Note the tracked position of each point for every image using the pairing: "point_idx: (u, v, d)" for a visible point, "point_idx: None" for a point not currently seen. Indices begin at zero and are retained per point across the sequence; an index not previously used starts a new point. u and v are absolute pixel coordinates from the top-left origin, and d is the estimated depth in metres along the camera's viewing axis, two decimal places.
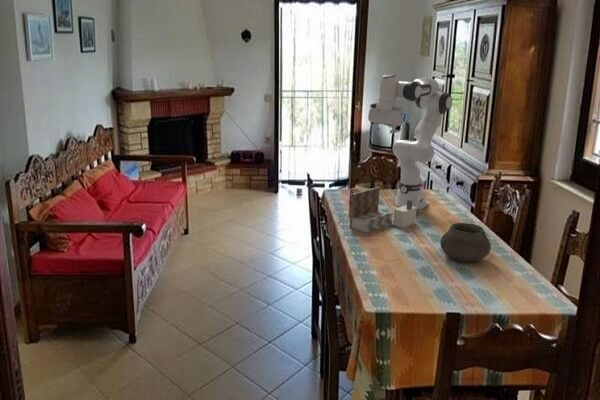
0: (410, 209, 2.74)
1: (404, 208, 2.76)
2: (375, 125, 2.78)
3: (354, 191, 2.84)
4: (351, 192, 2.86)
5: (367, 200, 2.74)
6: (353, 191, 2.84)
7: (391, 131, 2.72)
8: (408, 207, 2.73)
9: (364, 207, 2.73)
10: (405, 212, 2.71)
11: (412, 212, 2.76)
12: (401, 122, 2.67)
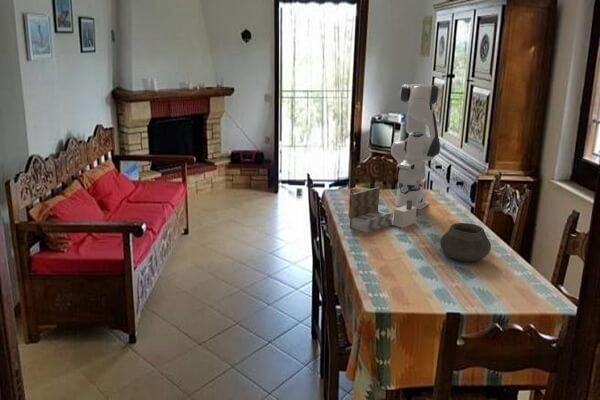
0: (410, 209, 2.74)
1: (404, 208, 2.76)
2: (407, 186, 2.66)
3: (354, 191, 2.84)
4: (351, 192, 2.86)
5: (367, 200, 2.74)
6: (353, 191, 2.84)
7: (417, 186, 2.73)
8: (408, 207, 2.73)
9: (364, 207, 2.73)
10: (405, 212, 2.71)
11: (412, 212, 2.76)
12: None
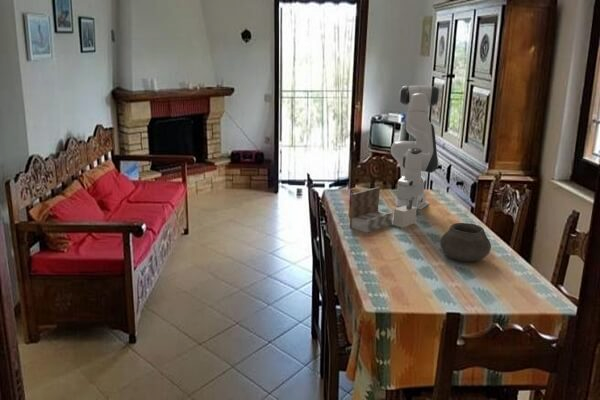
0: (410, 209, 2.74)
1: (404, 207, 2.76)
2: (408, 200, 2.70)
3: (354, 191, 2.84)
4: (351, 192, 2.86)
5: (367, 200, 2.74)
6: (353, 191, 2.84)
7: (412, 202, 2.74)
8: (408, 207, 2.73)
9: (364, 207, 2.73)
10: (405, 212, 2.71)
11: (412, 212, 2.76)
12: None
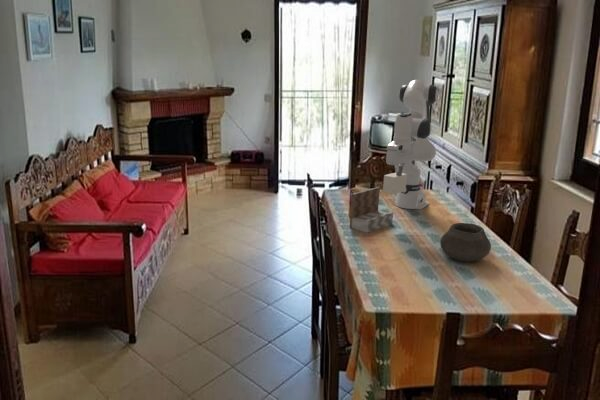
0: (400, 175, 2.66)
1: (394, 174, 2.68)
2: (398, 166, 2.63)
3: (354, 191, 2.84)
4: (351, 192, 2.86)
5: (367, 200, 2.74)
6: (353, 191, 2.84)
7: (402, 169, 2.67)
8: (398, 173, 2.66)
9: (364, 207, 2.73)
10: (395, 178, 2.63)
11: (402, 179, 2.69)
12: None
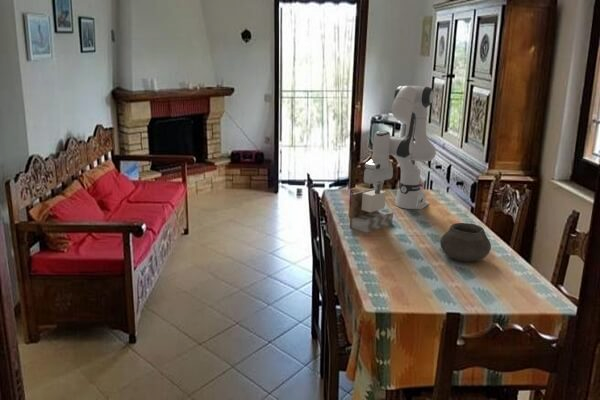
0: (378, 193, 2.66)
1: (373, 192, 2.69)
2: (376, 184, 2.63)
3: (354, 191, 2.84)
4: (351, 192, 2.86)
5: None
6: (353, 191, 2.84)
7: (381, 187, 2.67)
8: (376, 191, 2.66)
9: None
10: (373, 196, 2.64)
11: (381, 196, 2.69)
12: None
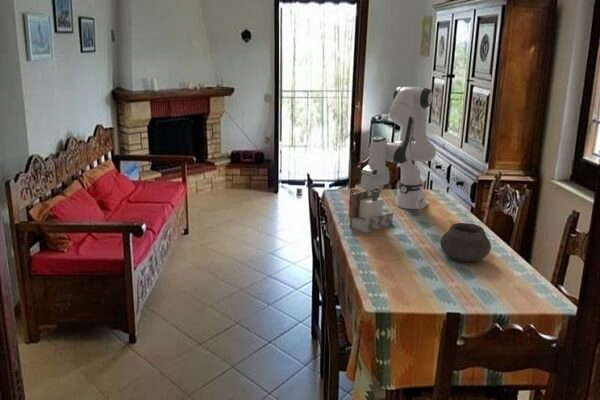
0: (376, 200, 2.69)
1: (370, 199, 2.71)
2: (370, 191, 2.64)
3: (354, 191, 2.84)
4: (351, 192, 2.85)
5: None
6: (353, 191, 2.84)
7: (380, 191, 2.71)
8: (374, 198, 2.68)
9: None
10: (370, 203, 2.66)
11: (378, 203, 2.71)
12: None
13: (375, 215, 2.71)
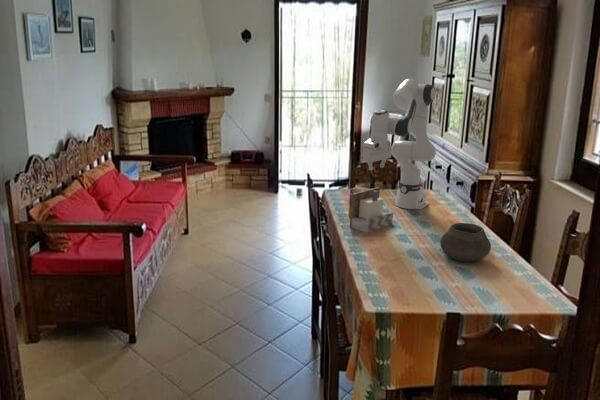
0: (376, 200, 2.69)
1: (370, 199, 2.71)
2: (371, 165, 2.62)
3: (354, 191, 2.84)
4: (351, 192, 2.86)
5: None
6: (353, 191, 2.84)
7: (383, 165, 2.69)
8: (374, 198, 2.68)
9: None
10: (370, 203, 2.66)
11: (378, 203, 2.71)
12: None
13: (375, 215, 2.71)
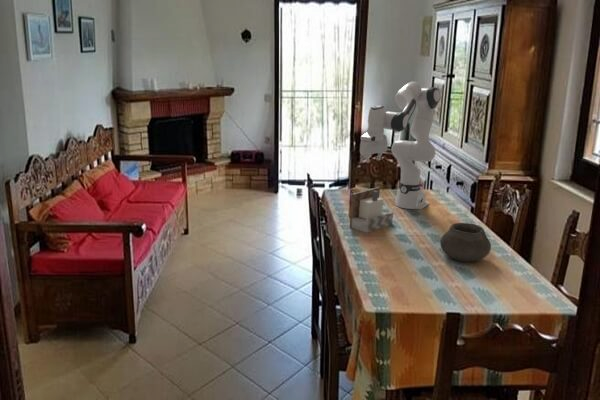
0: (376, 200, 2.69)
1: (370, 199, 2.71)
2: (368, 157, 2.75)
3: (354, 191, 2.84)
4: (351, 192, 2.86)
5: None
6: (353, 191, 2.84)
7: (379, 158, 2.83)
8: (374, 198, 2.68)
9: None
10: (370, 203, 2.66)
11: (378, 203, 2.71)
12: None
13: (375, 215, 2.71)
